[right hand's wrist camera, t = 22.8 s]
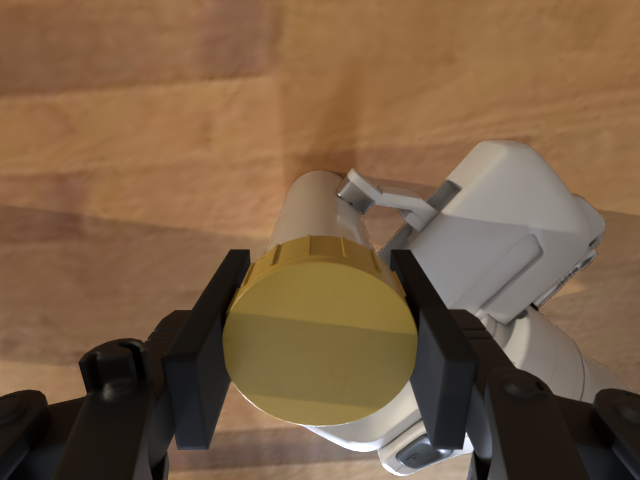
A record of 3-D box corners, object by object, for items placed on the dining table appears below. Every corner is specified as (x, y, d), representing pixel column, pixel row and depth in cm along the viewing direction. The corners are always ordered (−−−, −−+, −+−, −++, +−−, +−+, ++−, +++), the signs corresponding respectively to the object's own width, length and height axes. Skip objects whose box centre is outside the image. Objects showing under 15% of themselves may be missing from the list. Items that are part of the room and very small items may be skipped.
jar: (291, 164, 25) (249, 245, 10) (360, 177, 25) (419, 274, 10) (281, 230, 27) (231, 383, 12) (346, 241, 27) (378, 405, 12)
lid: (218, 243, 11) (196, 271, 9) (401, 222, 11) (419, 247, 9) (252, 387, 13) (240, 436, 11) (408, 371, 13) (423, 418, 11)
